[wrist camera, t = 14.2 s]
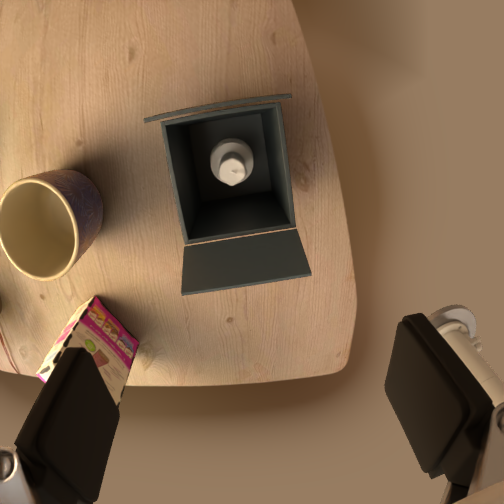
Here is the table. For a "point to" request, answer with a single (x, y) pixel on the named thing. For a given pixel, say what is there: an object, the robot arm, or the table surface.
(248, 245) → the panel
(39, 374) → the candy bar box
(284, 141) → the chute
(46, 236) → the planter
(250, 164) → the candle
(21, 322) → the table surface
